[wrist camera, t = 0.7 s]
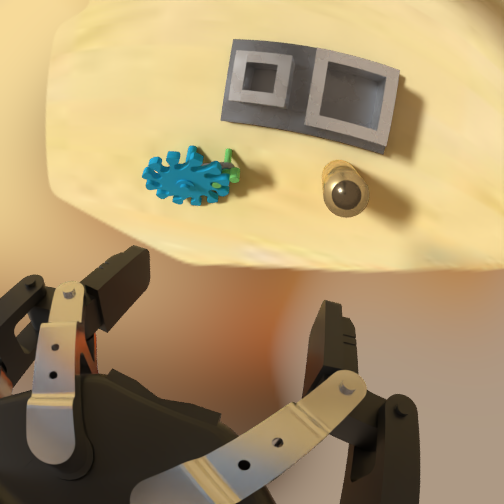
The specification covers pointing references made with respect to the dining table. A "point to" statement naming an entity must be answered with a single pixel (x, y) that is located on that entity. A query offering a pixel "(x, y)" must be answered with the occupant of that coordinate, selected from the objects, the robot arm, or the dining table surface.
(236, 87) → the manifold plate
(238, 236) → the dining table surface
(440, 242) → the dining table surface
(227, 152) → the gear
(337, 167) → the cylinder
